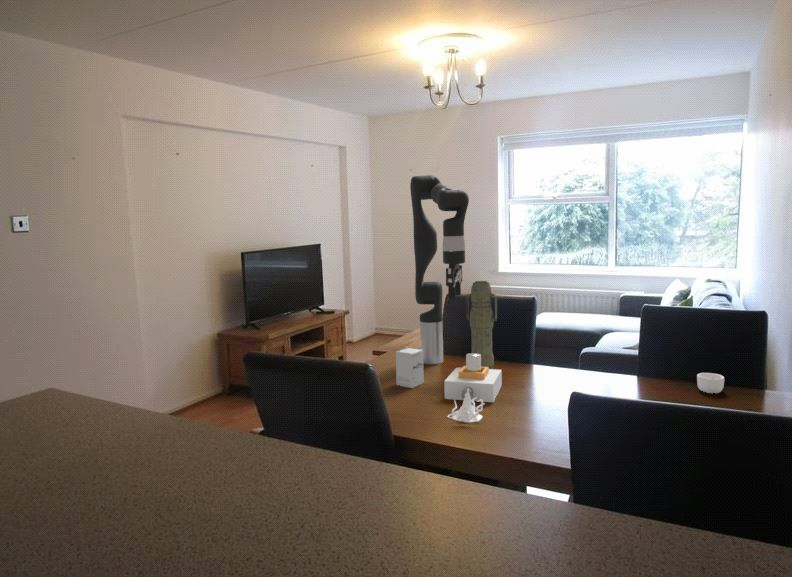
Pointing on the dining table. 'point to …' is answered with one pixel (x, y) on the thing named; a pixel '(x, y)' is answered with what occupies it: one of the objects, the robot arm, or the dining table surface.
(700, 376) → the teacup
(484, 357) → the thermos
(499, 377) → the white square box
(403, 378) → the supplement box
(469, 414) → the tentacle sculpture
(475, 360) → the shiny metal cylinder
